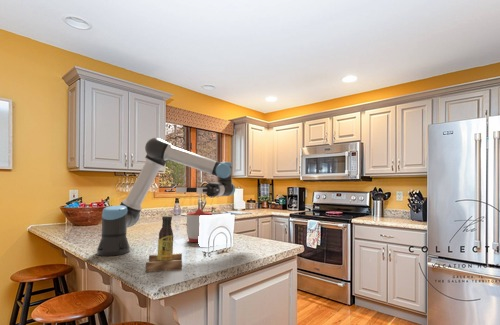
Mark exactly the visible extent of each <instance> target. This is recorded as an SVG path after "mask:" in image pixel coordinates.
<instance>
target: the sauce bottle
mask: <svg viewBox="0 0 500 325" xmlns="http://www.w3.org/2000/svg"><path fill="white" fill-rule="evenodd" d="M172 218H173V217H172V216H169V215H163V216H162V217H161V220H162V224H161V229H160V230H159V232H158V241H157V254H156V255H157V261H171V260H172V255H173V254H174V253H173V251H174V250H173V249H174V232H173V229H172V220H173V219H172Z"/></svg>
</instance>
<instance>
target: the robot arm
mask: <svg viewBox="0 0 500 325" xmlns="http://www.w3.org/2000/svg"><path fill="white" fill-rule="evenodd" d="M144 148H145V153H146V155H145V156H144V158H145V164H144V165H143V167H142V169H141V171H140V172H139V174H138V176H137V178H136V179H135V182H134V183H133V185H132V188H131V189H130V191H129V193H128V194H127V197H126V198H125V199H123V200H121V202H120V204H119V205H112V206H111V205H110V206H107V207H103V209H102V214H101V237H100V241H99V244H98V246H97V248H96V255H97V256H101V257H109V256H110V257H113V256H121V255H124V254H128V253H129V252H130V250H131V249H130V248H131V247H130V244H129V243H130V242H129V240H128V238H127V233H128V232H127V230H128V229H127V228H131V227H132V226H134V225H136V224H137V223H138V222H139V219H140V217H141V212H142V209H143V208H142V204H143V202H144V200H145V198H146V196H147V194H148V193H149V190H150V188H151V187H152V185H153V183H154V180H156V177H157V175H158V173H159V171H160V169H162V168H164V167H165V166H166V163H168V161H172V162H174V163H177V164H181V165H183V166H186V167H189V168H193V169H195V170H198V171H200V172H204V173H207V174H210V175H213V176H216V177H218V182H208V183H207V184H206V185H202V186H197V187H195V186H194V187H187V186H186V187H185V186H183V187H182V186H181V187H179V186H178V187H177V186H176V187H175V194H185V195H186V193H196V194H203V195H206V196H207V197H210V198H213V197H216V198H219V197H229V196H233V195H234V194H235V192H236V186H235V184H234V183H233V182H232V181H233V180H232V177H233V176H232V175H233V174H232V173H233V171H232V170H233V166H232V165H233V164H232V162H230V161H221V162H220V161H217V160H215V159H211V158H209V157H206V156H203V155H199V154H197V153H195V152H192V151H188V150H185V149H183V148H179V147H177V146H174V145H172V143H171V142H167V141H166V140H164V139H162V138H160V137H152V138H150V139H148V141H147V142H146V143H145V146H144Z"/></svg>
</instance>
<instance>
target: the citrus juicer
mask: <svg viewBox="0 0 500 325" xmlns="http://www.w3.org/2000/svg"><path fill="white" fill-rule="evenodd" d="M200 215H212V216H213V212H205V211H203V210H202V209H201V208H198V209H196V211H195V212H194V211H193V212H187V213H186V234H187V235H186V236H187V238H188V241H189V242H190V243H198V242H197V241H198V236H199V216H200Z"/></svg>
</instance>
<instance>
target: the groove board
mask: <svg viewBox="0 0 500 325" xmlns="http://www.w3.org/2000/svg"><path fill="white" fill-rule="evenodd" d="M182 266H183V253H181V252H179V253H173V255H172V260H171V261H157V254H150V255H148V261H145V272H146V273H147V272H148V273H149V272H159V271H160V272H161V271H174V270H175V271H176V270H177V271H178V270H182V269H183V268H182Z"/></svg>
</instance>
